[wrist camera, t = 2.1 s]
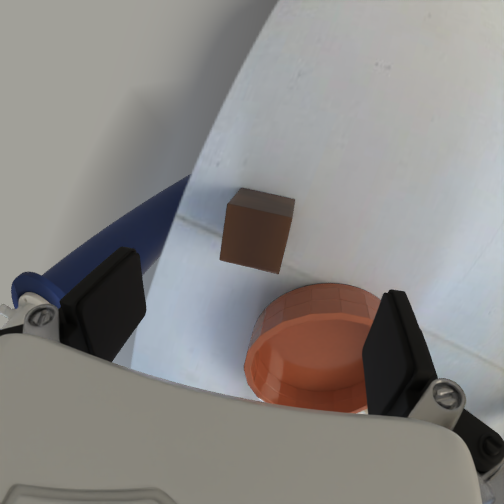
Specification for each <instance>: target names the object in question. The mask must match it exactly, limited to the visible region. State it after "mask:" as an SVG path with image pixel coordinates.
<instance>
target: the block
mask: <svg viewBox="0 0 504 504" xmlns="http://www.w3.org/2000/svg"><path fill="white" fill-rule="evenodd" d="M294 205H295V199H291V198H287V197H282V196H278V195H273V194H269V193H264V192H260V191H255V190H250V189H246V188H241V189H240V190H239V191H238V192H237V193H236V194H235V196H234V197H233V198H232V199H231V200H230V201H229V203H228V204H227V209H226V216H225V223H224V230H223V237H222V245H221V252H220V260H221V261H225V262H229V263H233V264H237V265H241V266H246V267H250V268H254V269H258V270H262V271H266V272H271V273H275V274H279V271H280V267H281V263H282V259H283V255H284V251H285V247H286V243H287V239H288V235H289V230H290V226H291V222H292V217H293V211H294Z"/></svg>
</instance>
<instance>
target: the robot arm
mask: <svg viewBox="0 0 504 504" xmlns="http://www.w3.org/2000/svg"><path fill="white" fill-rule="evenodd" d="M60 305H61V307H60V308H59V309H58V308H57V307H56V306H54V305H52V304H50V303H49V302H48V301H47V300H45V299H44V298H43V297H41V296H39V295H38V294H35V293H32V292H27V293H25V294H23V295H22V296H21V297H20V298H19V302H18V308H17V309H11V308H9V307H8V306H6V305H5V304H2V305H1V306H0V314H2V315H3V316H4V317H6V318H8V319H9V321H8V322H7V323H6V324H5V325H4V326H3V327H2V328H1V329H0V504H504V441H503V439H502V438H501V436H500V435H499V434H498V433H497V432H495V431H494V430H492V429H491V428H490V427H488V426H487V425H486V424H484V423H483V422H482V421H480V420H479V419H478V418H476V417H475V416H473V415H472V414H471V413H469V412H468V411H467V410H465V409H464V407H465V403H466V397H465V394H464V391H463V390H462V388H461V387H460V386H459V385H458V384H457V383H456V382H454V381H452V380H450V379H446V378H438V377H437V374H436V371H435V368H434V365H433V362H432V359H431V356H430V353H429V350H428V347H427V344H426V342H425V339H424V336H423V333H422V331H421V329H420V328H419V325H418V323H417V320H416V318H415V315H414V312H413V310H412V307H411V305H410V302H409V300H408V298H407V295H406V293H405V292H404V291H398V290H389V292H388V293H384V294H383V296H382V299H381V302H380V305H379V307H378V310H377V313H376V315H375V318H374V321H373V323H372V326H371V328H370V331H369V333H368V336H367V338H366V341H365V343H364V345H363V349H362V360H363V368H364V377H365V387H366V397H367V409H368V414H354V413H343V412H333V411H323V410H314V409H306V408H298V407H291V406H284V405H278V404H272V403H266V402H260V401H255V400H249V399H244V398H239V397H234V396H229V395H225V394H220V393H216V392H211V391H207V390H203V389H199V388H195V387H191V386H187V385H183V384H179V383H176V382H172V381H169V380H165V379H162V378H158V377H155V376H152V375H148V374H145V373H142V372H139V371H136V370H133V369H130V368H127V367H124V366H120V365H118V364H115V363H112V361H113V360H114V358H115V357H116V355H117V354H118V352H119V351H120V350H121V348H122V347H123V345H124V344H125V342H126V341H127V339H128V338H129V337H130V335H131V334H132V332H133V331H134V330H135V328H136V327H137V326H138V324H139V323H140V322H141V320H142V319H143V317H144V316H145V314H146V302H145V295H144V288H143V281H142V272H141V263H140V256H139V254H138V253H136V250H135V249H133V248H127V247H120V248H119V249H117V250H116V251H115V252H114V253H113V254H111V255H110V256H109V257H108V258H107V259H106V260H104V261H103V262H102V263H101V264H100V265H99V266H98V267H96V268H95V269H94V270H93V271H92V272H91V273H90V274H88V275H87V276H86V277H85V278H84V279H83V280H82V281H81V282H80V283H78V284H77V285H76V286H75V287H74V288H73V289H72V290H71V291H70V292H69V293H68V294H67V295H65V296H64V297H63V298H62V299H61V300H60Z"/></svg>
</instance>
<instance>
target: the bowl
mask: <svg viewBox="0 0 504 504" xmlns="http://www.w3.org/2000/svg"><path fill="white" fill-rule="evenodd" d="M380 302H381V300H380V299H379V298H377V297H376V296H374V295H373V294H371V293H369V292H367V291H365V290H363V289H360V288H357V287H354V286H350V285H344V284H335V283H324V284H314V285H308V286H304V287H301V288H297V289H295V290H292V291H290V292H287V293H286V294H284V295H282V296H280V297H279V298H277V299H276V300H274V301H273V302H272V303H271V304H270V305H269V306H267V307H266V308H265V309H264V311H263V312H262V313H261V315H260V316H259V318H258V320H257V322H256V324H255V326H254V329H253V333H252V337H251V340H250V344H249V348H248V351H247V355H246V360H245V364H244V371H245V375H246V379H247V383H248V385H249V386H250V388H251V389H252V390H253V392H254V393H255V394H256V396H257V397H258V398H259V399H261V400H262V401H264V402H266V403H272V404H278V405H284V406H291V407H298V408H306V409H314V410H323V411H333V412H343V413H354V414H356V413H359V412H361V411H363V410H366V409H367V397H366V387H365V377H364V368H363V360H362V349H363V345H364V343H365V341H366V338H367V336H368V333H369V331H370V328H371V326H372V323H373V321H374V318H375V315H376V313H377V310H378V307H379V305H380Z"/></svg>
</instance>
